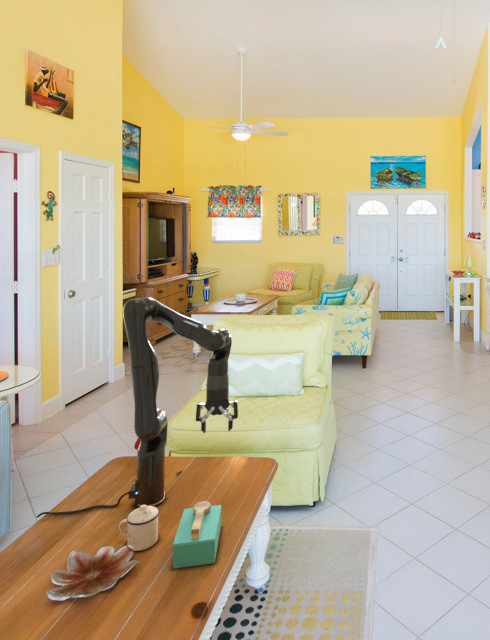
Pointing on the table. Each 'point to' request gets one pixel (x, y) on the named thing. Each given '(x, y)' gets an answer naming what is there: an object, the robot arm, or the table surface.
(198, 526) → the spoon
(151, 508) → the teacup with lid
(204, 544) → the box
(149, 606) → the table surface
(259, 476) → the table surface
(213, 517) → the lunchbox lid
